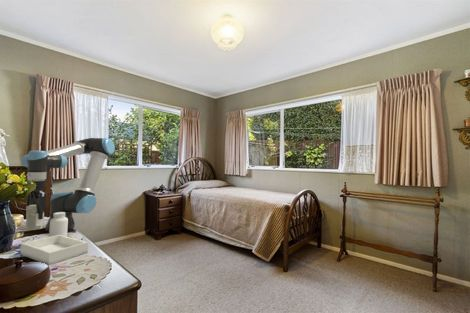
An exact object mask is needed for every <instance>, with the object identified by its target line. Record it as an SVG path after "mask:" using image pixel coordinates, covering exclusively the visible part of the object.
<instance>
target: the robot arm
mask: <svg viewBox="0 0 470 313" xmlns="http://www.w3.org/2000/svg"><path fill="white" fill-rule="evenodd" d="M115 148H116V145H115V142H114V141H113V140H112V139H111V138H109V137H88V138H84V139H80V140H77V141H74V142H72V143H71V144H68V145H64V146H61V147H60V146H59V147H57V148H53V149H49V150H29V151H28V153H27V154H25V155H24V156H23V157H21V165H22V166H23V167H25V168H27V174H26V177H27V180H28V181H32V180H35V183H36V185H37V186H36V189H35V190H34V191H32V192H31V193H30V194H29V195H28V196H27V195H26V203H25V204H26V206H29V205H36V208H37V212H36V226H41V225H43V212H44V213H45V212H46V211H47V202H46V200H47V199H46V197H47V192H45V191H44V192H43V188H46V187H47V174H48V173H47V170H48V169H63V168H65V167H66V166H67V165H68V158H71V157H73V156H76V155H77V156H81V155H90V159H89V161H88V164H87V167H86V169H85V171H84V174H83V176H82V179H81V181H80V184H79V187H78V188H77V189H75V190H74V192H73V191H66V192H57V193H52V194H51V196H50V200H49V202H50V203H49V204H50V206H49V218H48V221H47V222H46V225H45V231H47V232H49V230H50V220H51V219H52V218H54V216H53V214H54V213H57V212H65V217H66V218H68V229H67V231H68V230H72V229H74V228H75V227H76V222H75V220H74V217H73V214H88V213H90V212H92V211H93V210H94V209H95V207H96V205H97V197H96V194H95V191H94V190H95V189H96V186H97V183H98V180H99V177H100V174H101V171H102V168H103V166H104V163H105V161H106V160H107V159H108V158H109V155H113V154H114V152H115V150H116V149H115ZM26 206H25V207H26Z"/></svg>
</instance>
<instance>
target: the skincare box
mask: <svg viewBox="0 0 470 313" xmlns="http://www.w3.org/2000/svg"><path fill="white" fill-rule="evenodd" d="M25 210H26V213H25V215H26V217H25V218H26V219H25V220H26V222H25V223H26V224H25V226H26V227H25V228H26V229H25V230H26V231H30V230H31V231H32V230H41V229H43V228H44V227H45V212H43V225H41V226H36V212H37V208H36V205H29V206H25Z"/></svg>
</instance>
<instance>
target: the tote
mask: <svg viewBox="0 0 470 313" xmlns="http://www.w3.org/2000/svg"><path fill="white" fill-rule="evenodd" d="M88 251H89V242H88V241H84V240H80V239H77V238H73V237H69V236H68V235H67V236H63V235H56V236H51V237H49V236H47V237H44V238H38V239H34V240H29V241H25V242H21V243H20V253H19V254H20V255H21V256H24V257H27V258H28V259H31V260H34V261H36V262H40V263H42V262H43V263H42V264H44V263H46V264H45V265H47V266H51V265H53V264H54V265H55V264H57V263H60V262H63V261H66V260H70V259H73V258H75V257H78V256H81V255H85V254H88V253H89V252H88Z"/></svg>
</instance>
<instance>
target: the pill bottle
mask: <svg viewBox="0 0 470 313" xmlns="http://www.w3.org/2000/svg"><path fill="white" fill-rule="evenodd" d="M53 216H54V218H52V219H51V220H50V230H49V231H48V232H49V233H48V237H51V236H56V235H63V236H67V237H68V230H69V229H68V218H66V217H65V212H57V213H54V214H53ZM67 229H68V230H67Z"/></svg>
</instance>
